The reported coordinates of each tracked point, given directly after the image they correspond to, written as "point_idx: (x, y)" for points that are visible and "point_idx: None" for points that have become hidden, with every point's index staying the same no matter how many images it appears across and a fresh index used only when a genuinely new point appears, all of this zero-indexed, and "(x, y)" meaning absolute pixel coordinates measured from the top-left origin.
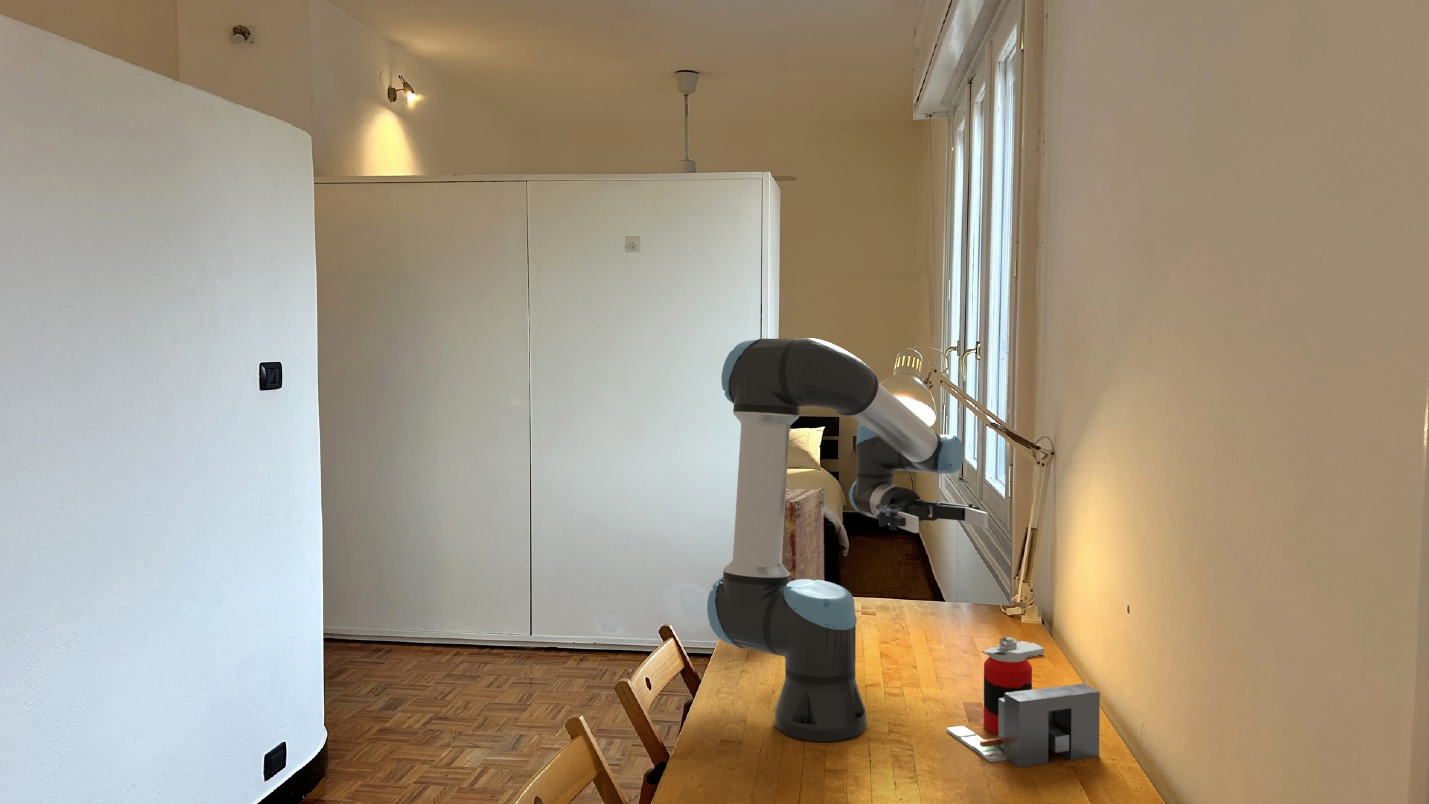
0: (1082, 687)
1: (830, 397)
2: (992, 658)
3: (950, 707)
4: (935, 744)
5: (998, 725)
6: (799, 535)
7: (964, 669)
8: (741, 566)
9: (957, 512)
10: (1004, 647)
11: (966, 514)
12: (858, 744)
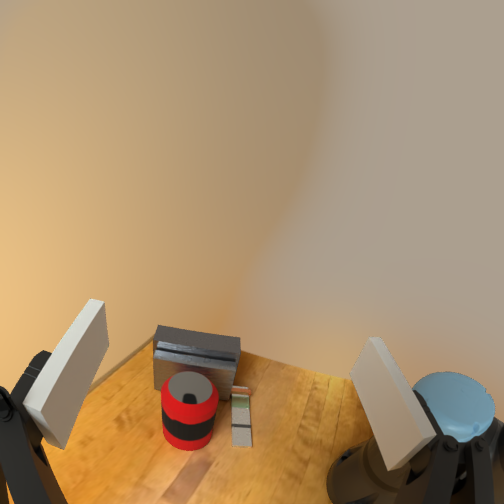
0: (162, 335)
1: None
2: (212, 390)
3: (209, 499)
4: (275, 428)
5: (231, 387)
6: None
7: None
8: None
9: (47, 477)
10: None
11: (56, 419)
12: (342, 443)
